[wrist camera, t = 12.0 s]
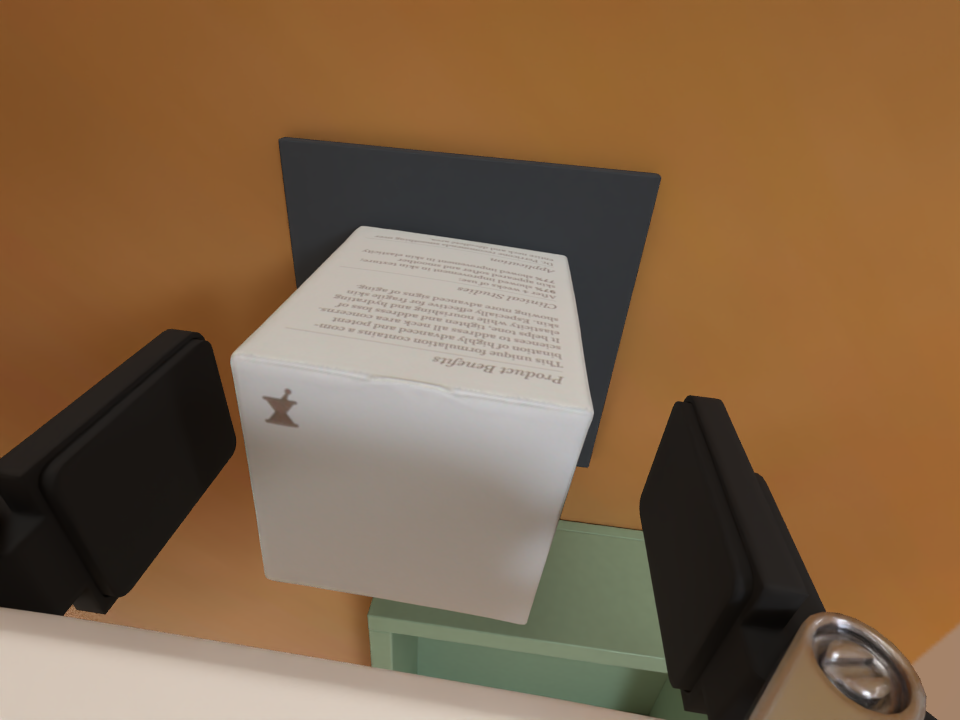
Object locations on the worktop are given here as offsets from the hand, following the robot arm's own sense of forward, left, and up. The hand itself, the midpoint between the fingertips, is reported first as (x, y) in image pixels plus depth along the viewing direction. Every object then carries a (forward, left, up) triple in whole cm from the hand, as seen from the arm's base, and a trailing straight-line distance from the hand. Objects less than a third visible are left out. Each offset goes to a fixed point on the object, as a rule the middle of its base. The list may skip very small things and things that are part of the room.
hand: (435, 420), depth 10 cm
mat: (+1, 0, -6) cm, 6 cm away
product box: (+1, 0, -6) cm, 6 cm away
